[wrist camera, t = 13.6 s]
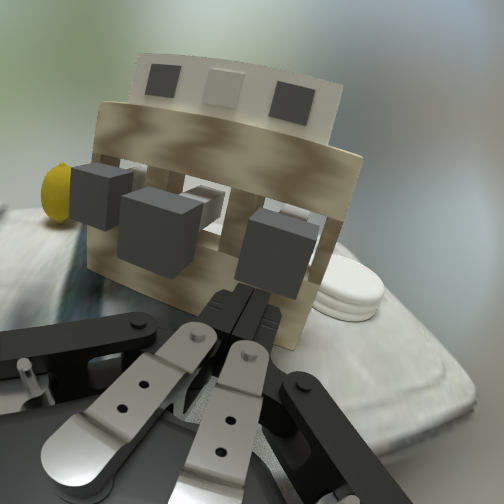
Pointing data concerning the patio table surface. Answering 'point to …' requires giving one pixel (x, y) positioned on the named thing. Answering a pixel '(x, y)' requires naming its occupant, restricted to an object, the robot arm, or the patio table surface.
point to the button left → (101, 192)
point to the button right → (277, 250)
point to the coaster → (348, 290)
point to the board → (239, 205)
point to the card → (238, 93)
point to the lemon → (56, 193)
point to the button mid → (165, 227)
